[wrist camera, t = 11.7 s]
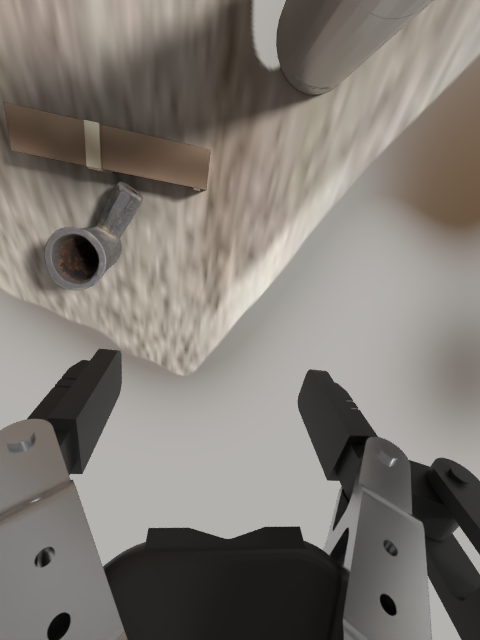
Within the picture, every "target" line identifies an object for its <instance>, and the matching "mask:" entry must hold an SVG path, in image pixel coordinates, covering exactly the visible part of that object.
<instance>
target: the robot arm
mask: <svg viewBox="0 0 480 640" xmlns="http://www.w3.org/2000/svg"><path fill="white" fill-rule="evenodd" d="M432 1H433V0H286V2H285V5H284V7H283V10H282V13H281V16H280V19H279V24H278V29H277V44H276V46H277V53H278V59H279V62H280V66H281V69H282V71H283V73H284V75H285V77H286V78H287V79H288V81H289V82H290V83H291V85H293V86H294V87H295V88H296V89H298V90H299V91H301V92H303V93H306V94H312V95H317V94H323V93H326V92H328V91H330V90H332V89H333V88H335V87H336V86H337V85H339V84H340V83H341V82H342V81H343V80H344V79H345V78H347V77H348V76H349V75H350V74H351V73H352V72H353V71H355V70H356V69H357V68H358V67H359V66H360V65H362V64H363V63H364V62H365V61H366V60H367V59H368V58H369V57H370V56H372V55H373V54H374V53H375V52H376V51H377V50H378V49H379V48H381V47H382V46H383V45H384V44H385V43H386V42H387V41H388V40H390V39H391V38H392V37H393V36H394V35H395V34H396V33H397V32H399V31H400V30H401V29H402V28H403V27H404V26H405V25H406V24H408V23H409V22H410V21H411V20H412V19H413V18H414V17H415V16H416V15H418V14H419V13H420V12H421V11H422V10H423V9H424V8H425V7H427V6H428V5H429V4H430V3H431V2H432ZM121 367H122V366H121V352H120V351H118V350H108V349H99V350H98V351H97V352H96V354H95V355H94V356H93V358H92V359H91V360H90V361H87V360H82V361H80V362H79V363H77V364H75V365H73V366H72V367H70V368H69V369H68V370H67V372H66V373H65V374H64V375H63V376H62V379H60V380H59V381H58V382H57V384H56V385H55V387H54V388H53V389H52V390H51V391H50V392H49V393H48V395H47V396H46V397H45V398H44V399H43V401H42V402H41V403H40V404H39V405H38V406H37V408H36V409H35V410H34V411H33V412H32V414H31V415H30V416H29V417H28V419H27V420H23V421H19V422H16V423H13V424H11V425H9V426H7V427H5V428H3V429H2V430H0V640H432V634H431V619H430V605H429V592H428V577H427V575H428V576H429V579H430V581H431V583H432V584H433V586H434V588H435V590H436V592H437V594H438V596H439V598H440V599H441V602H442V603H443V605H444V607H445V609H446V611H447V613H448V615H449V617H450V618H451V620H452V622H453V624H454V626H455V628H456V630H457V632H458V634H459V636H460V638H461V639H462V640H480V574H479V573H478V571H477V570H476V568H475V567H474V565H473V564H472V562H471V561H470V559H469V558H468V556H467V555H466V553H465V552H464V551H463V549H462V547H461V546H460V544H459V543H458V541H457V540H456V538H455V537H454V535H453V534H452V533H453V532H454V531H455V530H456V529H457V528H458V527H459V526H460V527H461V529H462V530H463V532H464V533H465V534H466V536H467V537H468V538H469V540H470V541H471V543H472V544H473V546H474V547H475V549H476V550H477V551H478V553H479V554H480V481H479V480H478V479H477V478H476V477H475V476H474V475H473V474H472V473H471V472H470V471H468V470H467V469H466V468H464V467H463V466H461V465H460V464H458V463H456V462H454V461H452V460H449V459H445V458H438V459H436V460H435V461H434V462H433V464H432V465H431V467H429V466H426V465H423V464H420V463H417V462H413V461H410V460H408V458H407V456H406V455H405V454H404V452H403V451H402V450H401V449H400V448H399V447H397V446H396V445H395V444H393V443H392V442H390V441H388V440H386V439H383V438H380V437H378V436H377V435H376V433H375V432H374V430H373V429H372V427H371V426H370V425H369V423H368V422H367V420H366V419H365V417H364V416H363V414H362V413H361V411H360V410H358V407H357V406H356V404H355V403H354V402H353V400H352V398H351V397H350V396H349V394H348V393H347V391H346V390H344V389H343V388H342V387H341V386H339V384H337V383H334V381H333V380H332V378H331V377H330V375H329V373H328V372H327V371H321V370H320V371H319V370H309V371H308V372H307V374H306V377H305V379H304V382H303V385H302V388H301V391H300V393H299V396H298V408H299V412H300V414H301V416H302V419H303V421H304V424H305V426H306V428H307V431H308V434H309V436H310V438H311V441H312V444H313V446H314V449H315V451H316V453H317V456H318V458H319V461H320V463H321V466H322V468H323V471H324V473H325V476H326V478H327V480H332V481H340V483H341V485H342V487H341V489H340V490H339V493H338V497H337V501H336V505H335V509H334V514H333V517H332V521H331V525H330V529H329V534H328V537H327V540H326V543H325V546H324V548H323V550H321V549H320V548H318V547H317V546H314V545H313V544H310V543H308V542H306V541H303V537H302V534H301V530H300V527H264V528H261V529H258V530H255V531H253V532H250V533H247V534H244V535H241V536H238V537H236V538H232V539H224V538H220V537H217V536H214V535H211V534H207V533H204V532H201V531H197V530H194V529H191V528H149V529H148V534H147V539H146V542H144V543H142V544H139V545H136V546H134V547H132V548H130V549H128V550H126V551H124V552H122V553H121V554H119V555H118V556H116V557H115V558H114V559H112V560H111V561H110V562H108V563H107V564H106V565H104V567H103V566H102V563H101V560H100V557H99V554H98V551H97V549H96V545H95V542H94V539H93V536H92V533H91V531H90V528H89V525H88V522H87V519H86V516H85V513H84V510H83V507H82V504H81V501H80V498H79V495H78V492H77V489H76V486H75V484H74V482H73V480H70V477H69V475H70V474H83V471H84V469H85V467H86V465H87V463H88V461H89V459H90V457H91V454H92V452H93V450H94V448H95V446H96V444H97V442H98V439H99V437H100V435H101V433H102V431H103V429H104V427H105V425H106V422H107V420H108V418H109V416H110V414H111V412H112V409H113V407H114V405H115V403H116V401H117V399H118V397H119V394H120V390H121V384H122V371H121V369H122V368H121Z"/></svg>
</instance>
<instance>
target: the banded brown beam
mask: <svg viewBox="0 0 480 640" xmlns="http://www.w3.org/2000/svg"><path fill="white" fill-rule="evenodd" d="M4 108H5V114H6V120H7V126H8V133H9V139H10V145H11V150H12V151H17V152H21V153H26V154H30V155H34V156H39V157H44V158H49V159H54V160H59V161H64V162H69V163H74V164H79V165H84V166H88V169H93V170H97V171H102V172H107V173H112V174H113V172H118V173H123V174H128V175H133V176H138V177H143V178H148V179H153V180H158V181H162V182H167V183H172V184H177V185H182V186H187V187H192V188H194V190H196V191H201V189H202V190H206V187H207V179H208V170H209V161H210V149H206V148H202V147H197V146H193V145H189V144H184V143H180V142H175V141H171V140H167V139H162V138H158V137H154V136H149V135H145V134H141V133H136V132H132V131H128V130H123V129H119V128H114V127H110V126H106V125H101V124H100V123H97V122H93V121H88V120H80V119H75V118H71V117H67V116H62V115H58V114H54V113H49V112H45V111H40V110H36V109H32V108H27V107H23V106H19V105H14V104H10V103H6V102H4Z"/></svg>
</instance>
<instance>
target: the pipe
mask: <svg viewBox="0 0 480 640" xmlns="http://www.w3.org/2000/svg"><path fill="white" fill-rule="evenodd" d="M142 200H143V197H142V195H141V194H140V193H139V192H137V191H136V190H135V189H133V188H132V187H131V186H129V185H128V184H126V183H124V182H119V183H117V185H116V186H115V188H114V189H113V191H112V193H111V195H110V197H109V199H108V201H107V203H106V205H105V208H104V210H103V212H102V215H101V217H100V219H99V222H98V224H97V226H96V227H92V228H77V227H64V228H61V229H59V230H57V231H55V232H54V233H53V234H52V235H51V236H50V238H49V239H48V242H47V244H46V246H45V262H46V266H47V269H48V271H49V274H50V276H51V278H52V279H53V280H54V281H55V283H56V284H58V285H59V286H61V287H63V288H65V289H69V290H83V289H86V288H89V287H91V286H93V285H95V284H96V283H97V282H98V281H99V280H100V279H101V278H102V276H103V275H104V273H105V272H106V271H107V270H108V269H109V268H110V267H111V266H112V265H113V264H114V263H115V262H116V261H117V260H118V258H119V257H120V254H121V251H122V246H121V242H120V237H121V235H122V234H123V232H124V231H125V229H126V227H127V226H128V224H129V223H130V221H131V220H132V218H133V216H134V214H135V212H136V211H137V209H138V207H139V206H140V204H141V202H142Z"/></svg>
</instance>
